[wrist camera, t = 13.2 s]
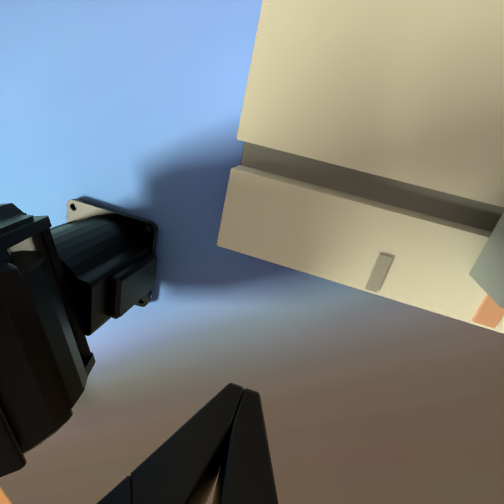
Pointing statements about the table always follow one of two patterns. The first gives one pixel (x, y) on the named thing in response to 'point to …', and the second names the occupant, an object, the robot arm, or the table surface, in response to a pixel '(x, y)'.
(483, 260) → the block
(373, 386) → the table surface
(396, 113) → the console
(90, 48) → the table surface
